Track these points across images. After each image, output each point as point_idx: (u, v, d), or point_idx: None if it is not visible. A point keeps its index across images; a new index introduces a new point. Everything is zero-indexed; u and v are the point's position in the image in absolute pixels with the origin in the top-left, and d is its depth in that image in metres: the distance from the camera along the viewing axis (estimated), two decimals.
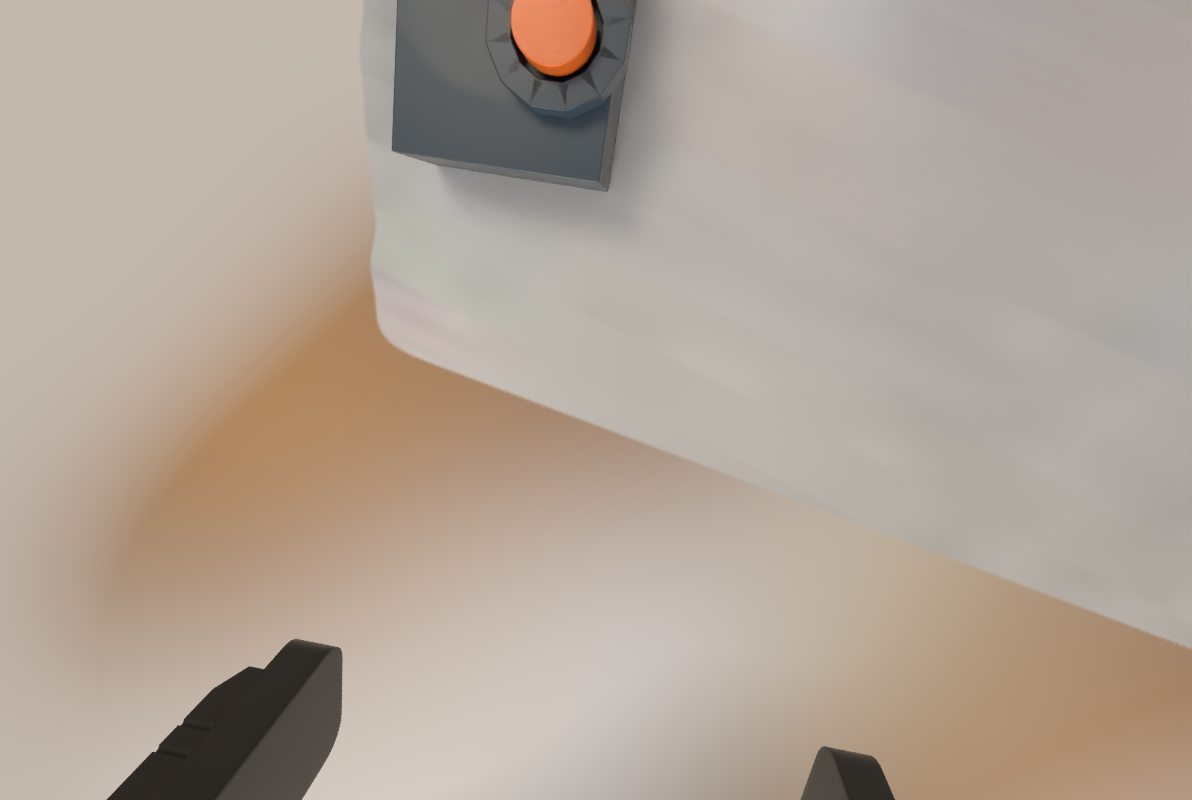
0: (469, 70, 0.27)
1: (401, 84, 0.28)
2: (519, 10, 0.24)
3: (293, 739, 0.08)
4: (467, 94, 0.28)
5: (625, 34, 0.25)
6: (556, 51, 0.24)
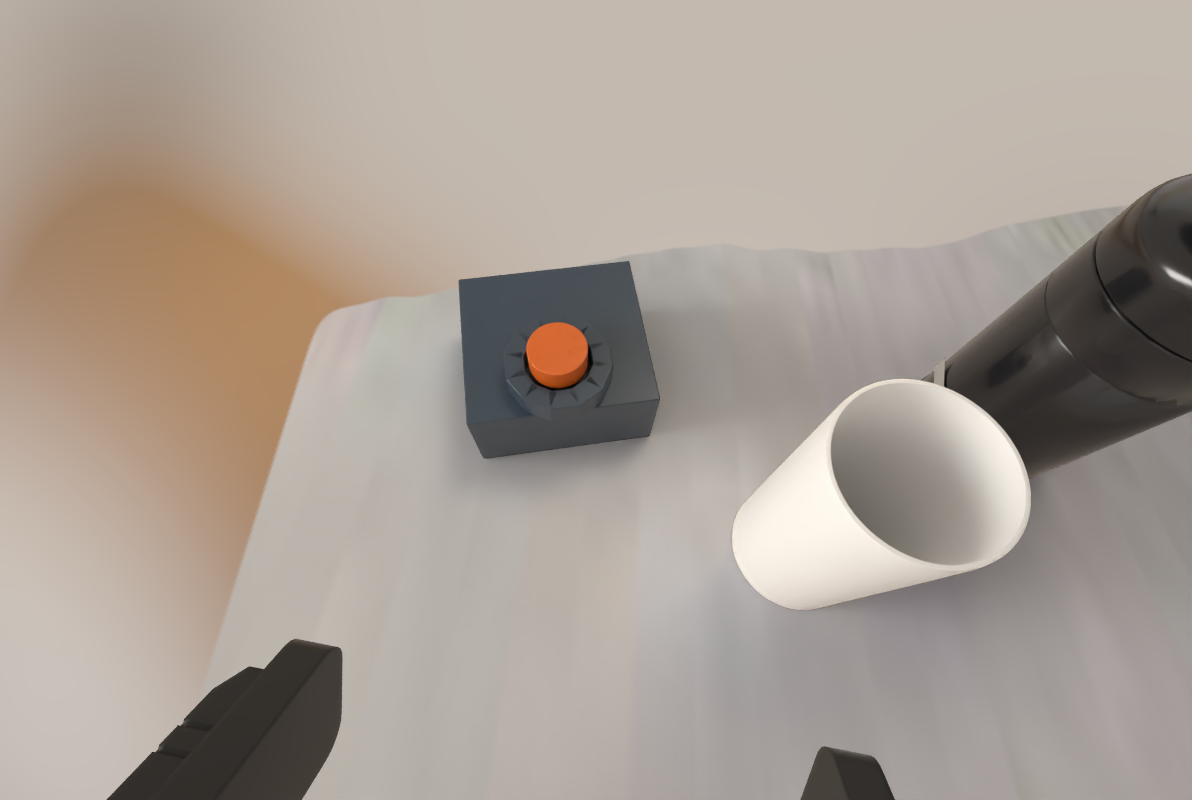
0: (524, 318, 0.37)
1: (504, 279, 0.38)
2: (556, 327, 0.33)
3: (293, 739, 0.08)
4: (508, 320, 0.37)
5: (568, 404, 0.32)
6: (537, 355, 0.32)
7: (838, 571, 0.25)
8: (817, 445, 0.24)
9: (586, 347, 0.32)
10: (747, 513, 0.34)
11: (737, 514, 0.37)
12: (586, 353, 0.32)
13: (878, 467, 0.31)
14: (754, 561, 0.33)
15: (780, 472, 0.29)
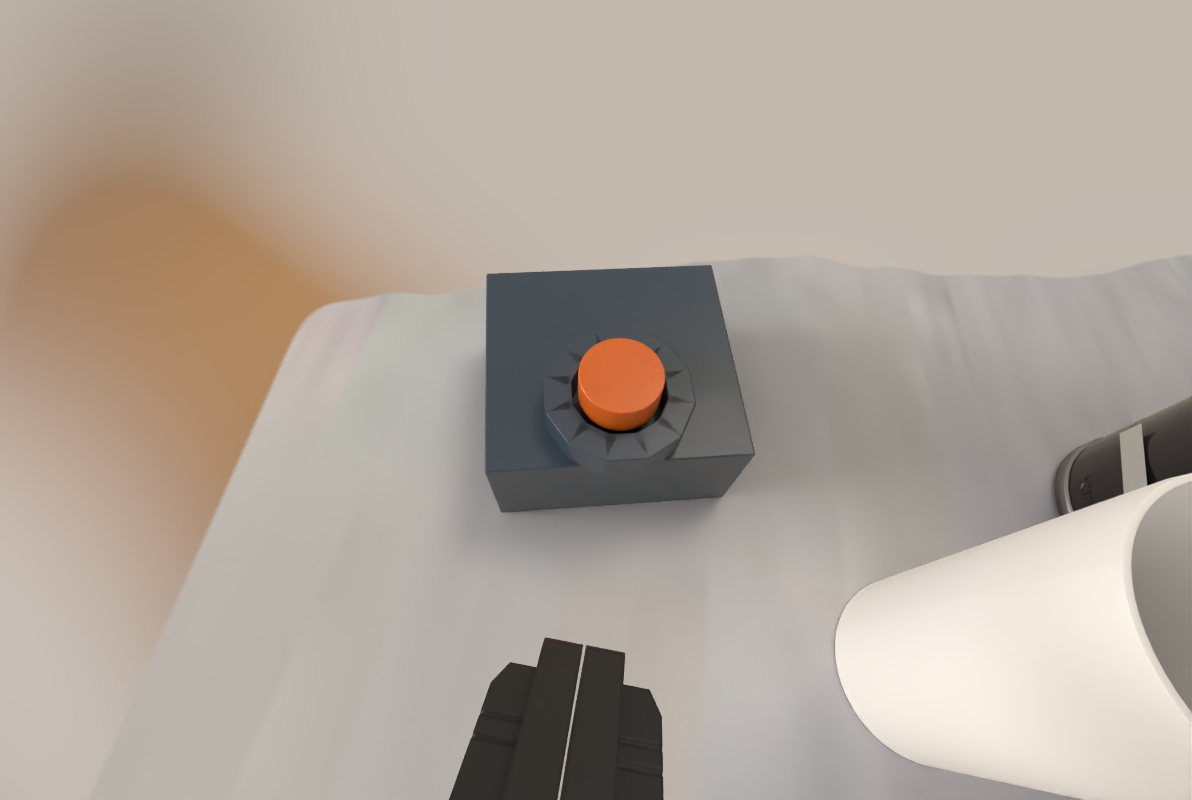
0: (572, 330, 0.27)
1: (547, 277, 0.29)
2: (621, 344, 0.23)
3: None
4: (550, 331, 0.27)
5: (632, 456, 0.23)
6: (593, 383, 0.22)
7: (1090, 781, 0.15)
8: (1088, 576, 0.14)
9: (663, 376, 0.23)
10: (871, 626, 0.24)
11: (842, 617, 0.27)
12: (663, 384, 0.23)
13: None
14: (883, 700, 0.23)
15: (958, 588, 0.19)
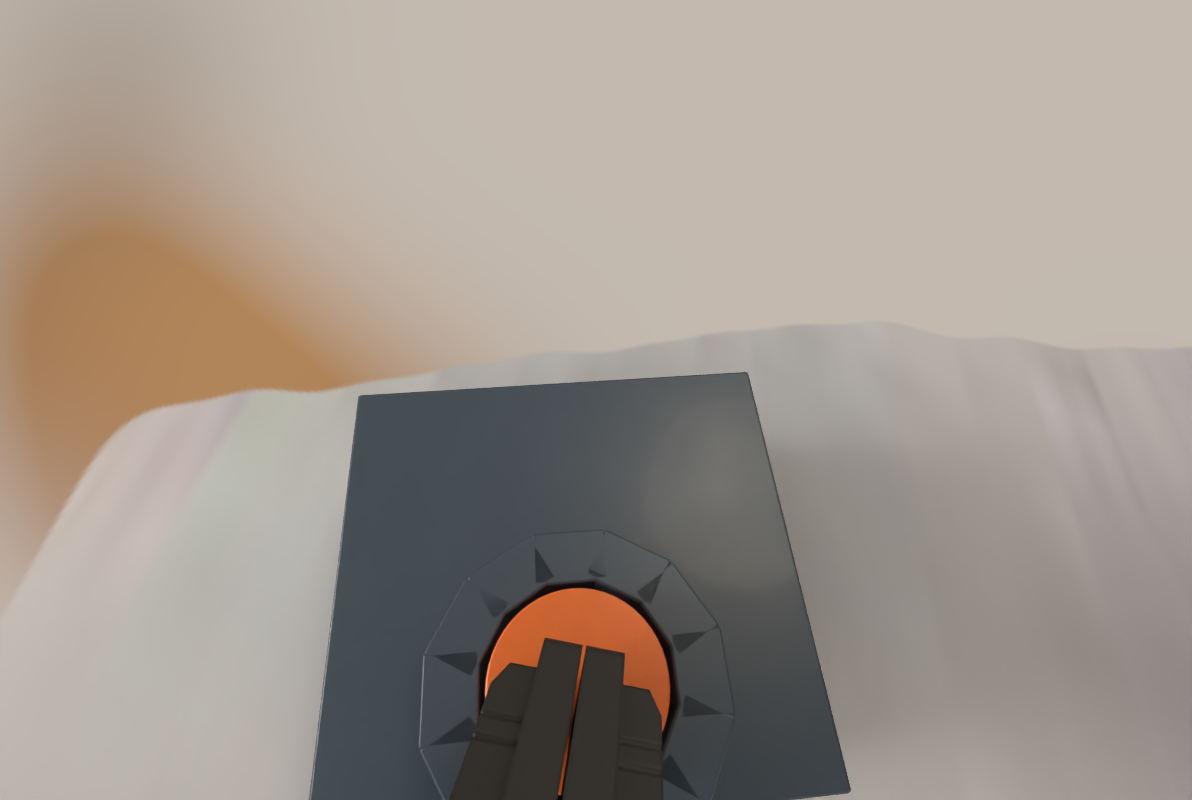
0: (500, 509, 0.15)
1: (464, 400, 0.17)
2: (579, 606, 0.11)
3: None
4: (461, 510, 0.15)
5: None
6: None
7: None
8: None
9: (666, 688, 0.11)
10: None
11: None
12: (665, 709, 0.11)
13: None
14: None
15: None
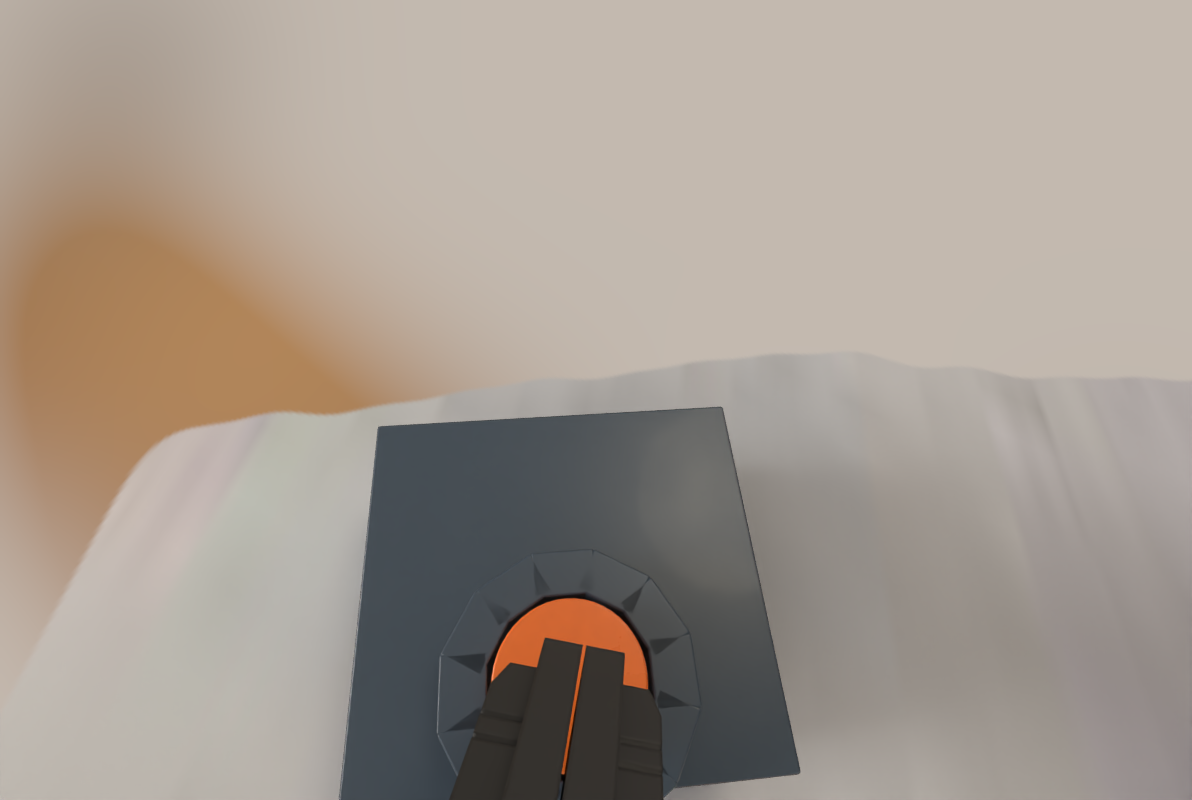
0: (504, 528, 0.17)
1: (471, 431, 0.19)
2: (571, 614, 0.13)
3: None
4: (469, 530, 0.17)
5: None
6: None
7: None
8: None
9: (644, 683, 0.13)
10: None
11: None
12: None
13: None
14: None
15: None
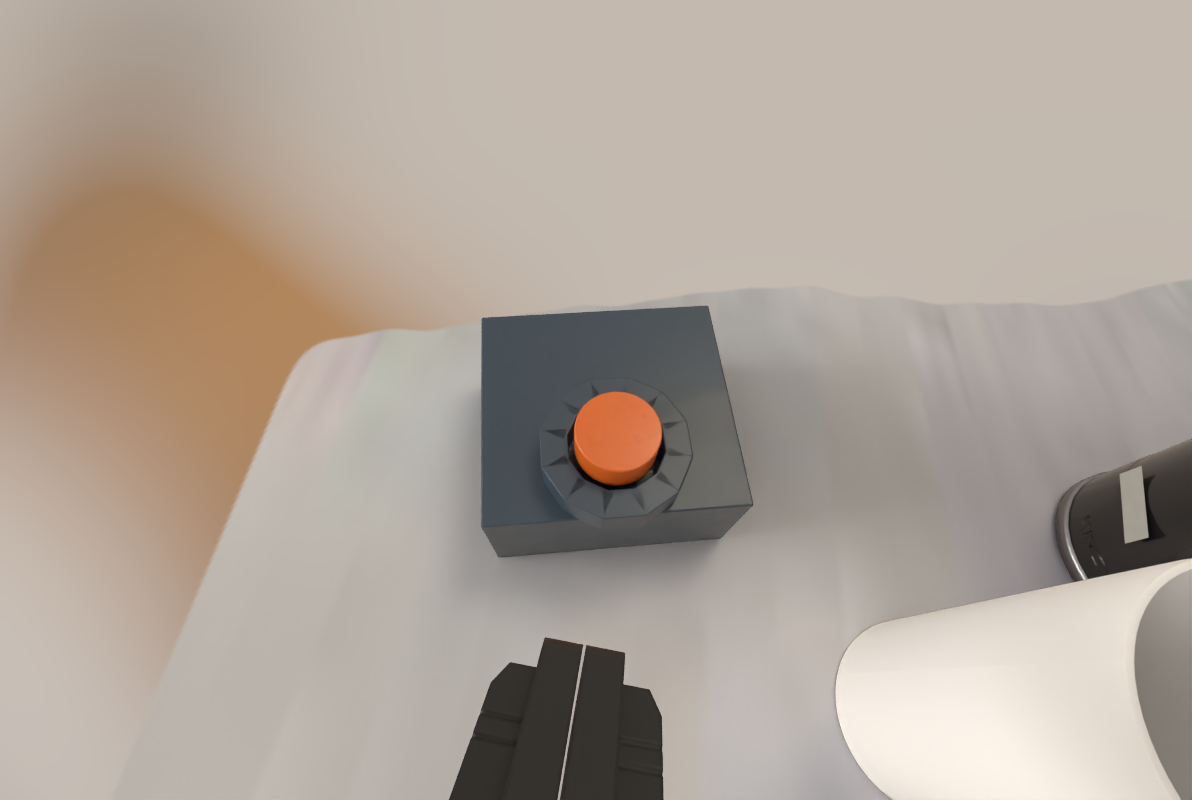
0: (567, 376, 0.27)
1: (543, 320, 0.29)
2: (617, 398, 0.23)
3: None
4: (546, 377, 0.27)
5: (629, 513, 0.22)
6: (590, 440, 0.22)
7: None
8: (1090, 667, 0.14)
9: (660, 431, 0.23)
10: (872, 678, 0.24)
11: (842, 662, 0.27)
12: (660, 440, 0.22)
13: None
14: (884, 755, 0.23)
15: (959, 654, 0.19)
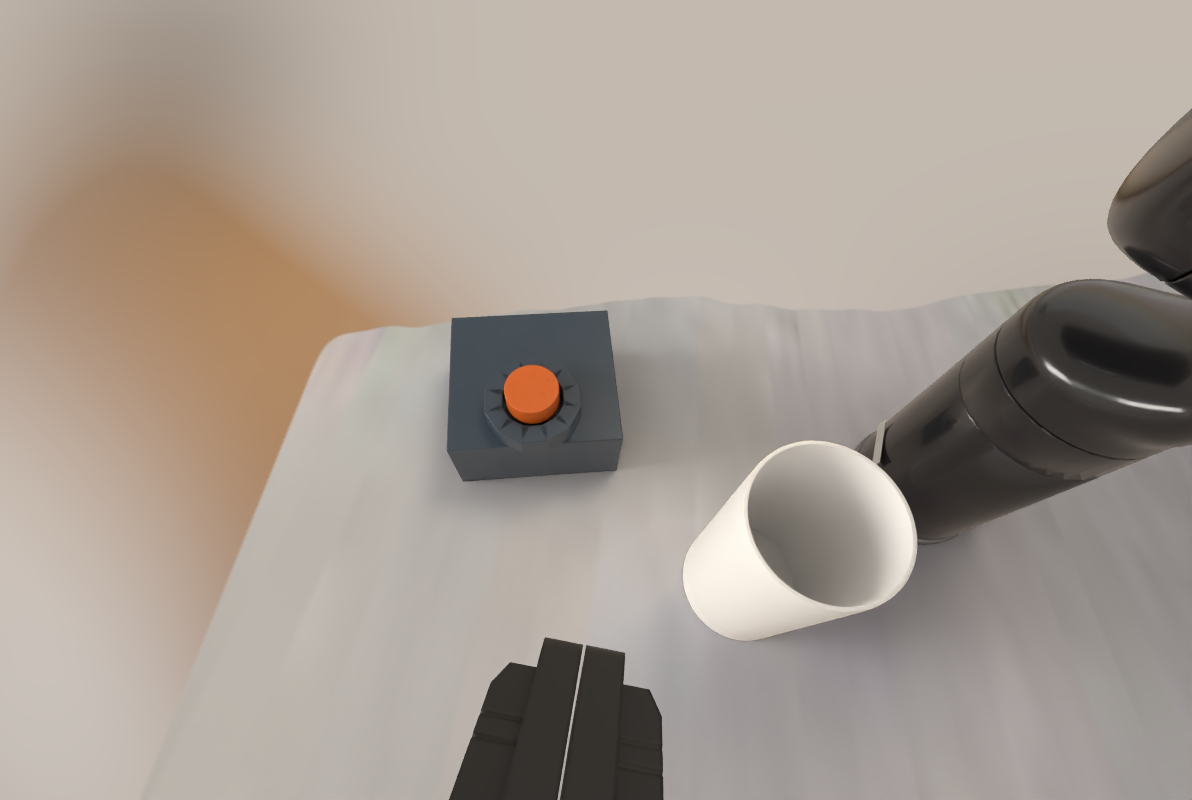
0: (507, 357, 0.41)
1: (493, 320, 0.42)
2: (532, 369, 0.37)
3: None
4: (493, 357, 0.41)
5: (537, 439, 0.36)
6: (513, 394, 0.36)
7: (756, 606, 0.29)
8: (740, 494, 0.27)
9: (557, 389, 0.36)
10: (694, 548, 0.37)
11: (689, 548, 0.41)
12: (557, 394, 0.36)
13: (810, 514, 0.35)
14: (697, 592, 0.36)
15: (718, 513, 0.33)
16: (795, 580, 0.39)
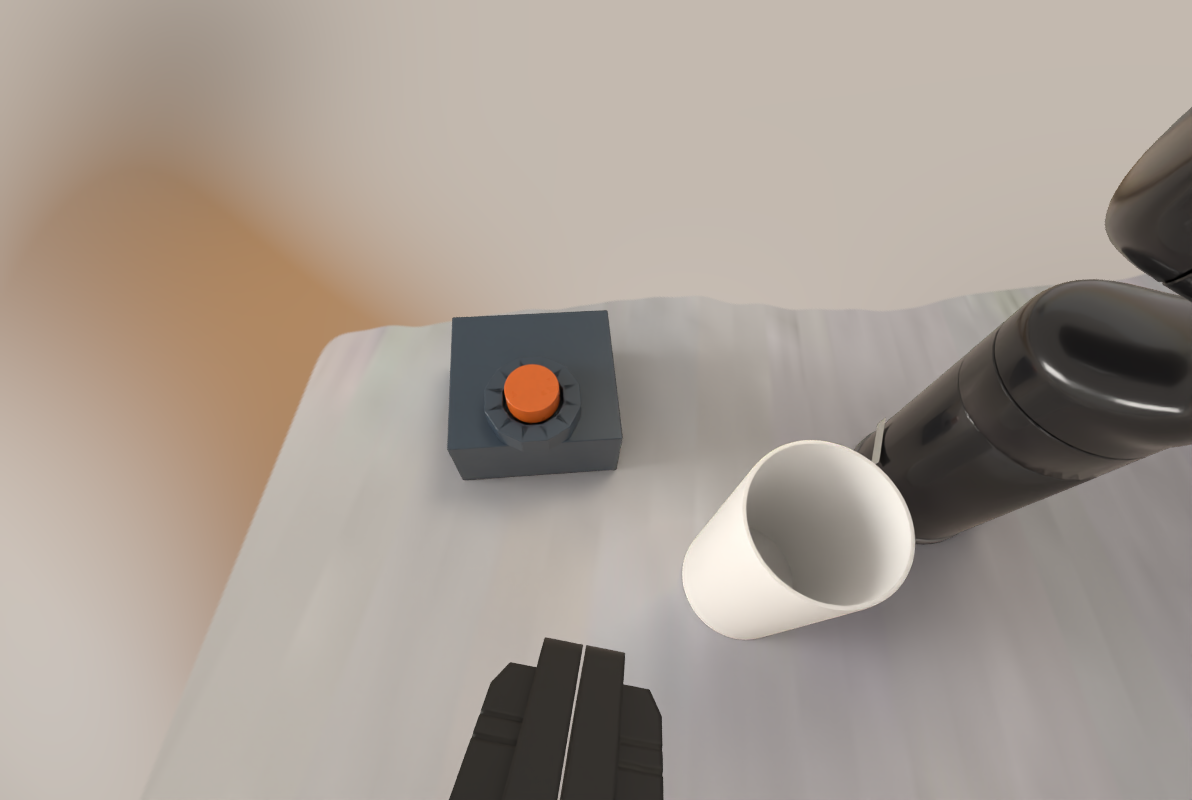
0: (508, 356, 0.41)
1: (493, 319, 0.43)
2: (532, 368, 0.37)
3: None
4: (494, 357, 0.41)
5: (537, 438, 0.36)
6: (513, 393, 0.36)
7: (755, 604, 0.29)
8: (739, 493, 0.28)
9: (557, 388, 0.36)
10: (694, 547, 0.38)
11: (689, 547, 0.41)
12: (557, 394, 0.36)
13: (809, 514, 0.35)
14: (696, 591, 0.37)
15: (717, 513, 0.33)
16: (794, 579, 0.40)
